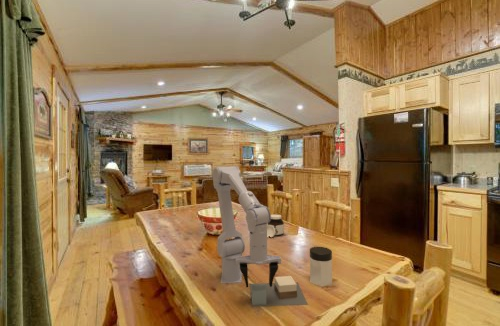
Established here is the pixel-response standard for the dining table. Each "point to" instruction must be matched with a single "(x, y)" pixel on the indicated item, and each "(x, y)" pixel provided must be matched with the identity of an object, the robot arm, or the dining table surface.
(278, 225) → the spread jar
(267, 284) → the felt mat
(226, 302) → the dining table surface
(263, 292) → the gray cube
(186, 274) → the dining table surface
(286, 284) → the cream slab
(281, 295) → the walnut slab
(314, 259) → the jar
